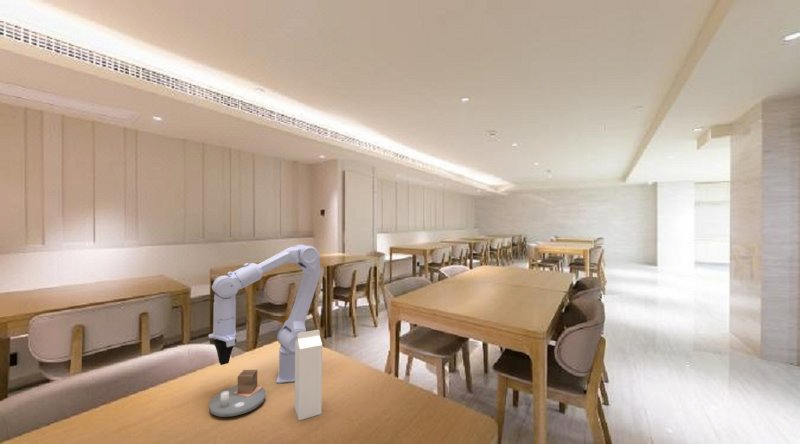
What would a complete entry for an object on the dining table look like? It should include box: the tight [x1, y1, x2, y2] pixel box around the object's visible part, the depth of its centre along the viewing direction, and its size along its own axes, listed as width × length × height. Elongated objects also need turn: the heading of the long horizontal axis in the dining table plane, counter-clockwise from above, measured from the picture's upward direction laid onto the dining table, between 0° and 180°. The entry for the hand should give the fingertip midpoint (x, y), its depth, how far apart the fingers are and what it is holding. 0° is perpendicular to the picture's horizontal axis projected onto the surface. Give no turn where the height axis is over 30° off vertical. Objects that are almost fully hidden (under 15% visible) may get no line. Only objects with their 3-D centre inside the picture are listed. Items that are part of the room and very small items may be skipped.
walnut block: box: [237, 369, 258, 394], centre depth 91 cm, size 4×4×5 cm
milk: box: [293, 329, 323, 421], centre depth 85 cm, size 6×6×22 cm
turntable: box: [208, 384, 266, 418], centre depth 88 cm, size 14×14×5 cm
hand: (224, 363), depth 91 cm, fingers closed
